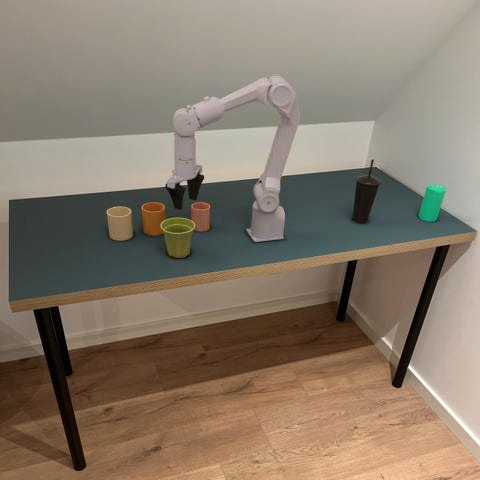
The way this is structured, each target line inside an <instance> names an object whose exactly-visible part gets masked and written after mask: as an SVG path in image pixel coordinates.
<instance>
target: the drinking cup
mask: <svg viewBox="0 0 480 480" xmlns="http://www.w3.org/2000/svg"><path fill="white" fill-rule="evenodd" d="M374 161H375V159H374V158H373V159H371V161H370V166H369V170H368V174H363V175H358V176H357V177H356V178H355V182H356V183H355V191H354V201H353V210H352V219H351V220H352V221H353V222H354V223H356V224H366V223H368V220H369V217H370V214H371V212H372V208H373V205H374V202H375V199H376V196H377V193H378V189H379V187H380V185H381V183H382V180H381V179H380V178H378V177H376V176H375V175H372V171H373V166H374Z"/></svg>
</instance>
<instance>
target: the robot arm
mask: <svg viewBox="0 0 480 480" xmlns="http://www.w3.org/2000/svg"><path fill="white" fill-rule="evenodd" d="M209 96H210V95H206V96H204V97H203V100H201V101H200V102H197V103H195V104H193V105H191V104H188V105H186V108H185V107H182V108H179V109H177V110H176V111H175V113H174V114H173V116H172V123H173V129H174V132H173V137H174V138H173V155H174V157H173V158H174V159H173V160H174V163H173V164H174V169H171V176H170V177H169V178H168V179H166V183H165V190H166V191H167V192H168V194H169V197H170V198H171V201H172V205H173V208H174V209H175V210H178V211H181V210H182V209H183V205H184V196H185V192H186V190H187V192H188V194H187V195H188V198H189V200H191V201H196V202H197V200H198V196H199V191H200V188H201V185H202V183H203V181H204V180H205V175H204V174H202V173H203V165H200V164H197V161H196V160H197V157H196V154H197V153H196V152H197V151H196V150H197V149H196V146H197V145H196V143H197V142H196V137H195V135H196V134H195V133H196V131H197V129H201V128H204V127H207V126H208V125H211V124H213V123H216V122H219V121H220V120H222V119H223V117H224V115H225V113H226V112H230V111H231V110H234V109H237V108H239V107H242V106H245V105H247V104H251V103H253V102H257V103H259V104H263V105H268V101H269V103H270V105H271V106H272V107H273V108H274V109H275V110H276V111H277V113H278V114H279V117H280V118H279V121H278V124H277V128H276V130H275V134H274V138H273V141H272V144H271V147H270V151H269V153H268V157H267V161H266V163H265V167H264V171H263V173H261V174H260V176H259V179H258V181H257V182H255V184H254V186H253V189H252V194H253V197H254V198H255V200H254V202H253V204H252V211H251V224H250V225H251V226H250V228H246V230H245V231H246V233H247V234H248V235H249V237H250V238H251V239H252V241H253V242H254V243H259V242H269V241H278V240H284V239H285V237H284V230H285V225H286V224H285V223H286V213H285V210H284V207H283V206H282V205H280V193H281V179H282V176H283V173H284V170H285V167H286V164H287V162H288V159H289V154H290V152H291V149H292V146H293V143H294V139H295V136H296V133H297V131H298V127H299V124H300V121H301V117H302V113H301V110H300V106H299V101H298V94H297V92H296V91H295V90H294V88H293V87H292V86H291V84H290V83H289V82H288V81H287V79H286V78H285V77H284V76H283V75H281V74H280V73H273V74H270V75H268V76H267V77H266V76H265V77H261V78H259V79H257V80H256V81H253V82H251V83H250V84H248V85H245V86H243V87H241V88H239V89H237V90H235V91H234V92H231V93H230V94H228V95H227V94H226V95H225V96H224V97H221V98H218V97H216V96H211V97H209ZM183 182H186V185H187V188H186V187H184V186H182V184H181V183H183Z"/></svg>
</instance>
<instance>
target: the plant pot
mask: <svg viewBox="0 0 480 480" xmlns="http://www.w3.org/2000/svg"><path fill="white" fill-rule="evenodd" d="M160 227H161V229H162V230H163V236H164V240H165V245H166V251H167V254H168V256H169V257H173V258H175V259H183V258H186V257H187V256H188V255H190V252H191V245H192V238H193V234H194V231H195V230H194V229H195V223H194V222H193V221H191V219H189V218H185V217H171V218H166V220H164V221H163V222H162V223H161V225H160Z"/></svg>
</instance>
